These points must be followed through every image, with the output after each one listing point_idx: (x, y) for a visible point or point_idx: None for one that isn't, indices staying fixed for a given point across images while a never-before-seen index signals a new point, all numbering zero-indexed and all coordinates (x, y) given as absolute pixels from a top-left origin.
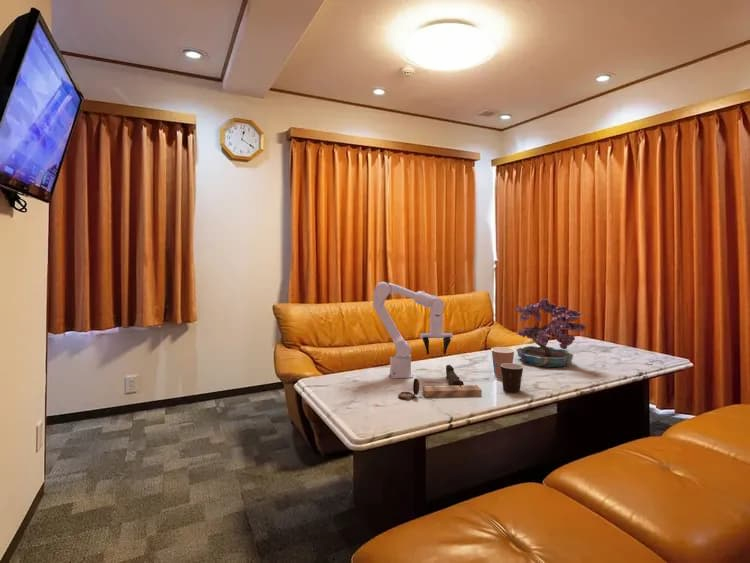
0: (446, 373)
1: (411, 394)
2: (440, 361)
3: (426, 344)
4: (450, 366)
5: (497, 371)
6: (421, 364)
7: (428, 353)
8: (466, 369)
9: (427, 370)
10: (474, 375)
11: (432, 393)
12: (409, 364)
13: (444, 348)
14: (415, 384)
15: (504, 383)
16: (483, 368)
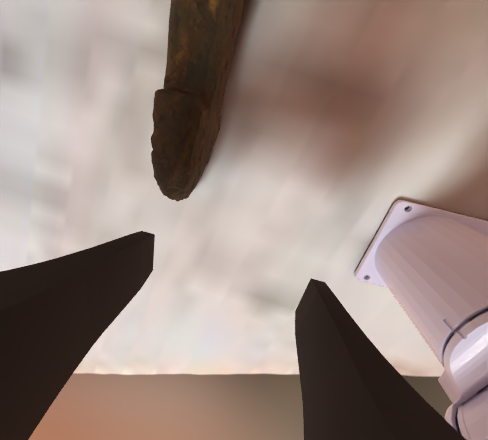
0: (203, 162)
1: None
2: (160, 349)
3: (423, 414)
4: (162, 149)
5: None
6: (242, 347)
7: (318, 284)
8: (85, 238)
9: (254, 280)
10: (63, 142)
11: None
12: (454, 259)
13: (109, 277)
14: None
15: None
16: (14, 227)
